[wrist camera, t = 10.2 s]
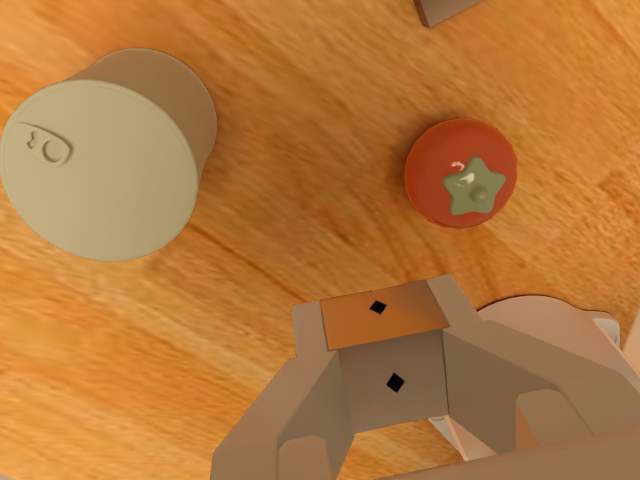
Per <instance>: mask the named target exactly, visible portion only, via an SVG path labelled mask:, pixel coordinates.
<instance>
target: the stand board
mask: <svg viewBox="0 0 640 480" xmlns="http://www.w3.org/2000/svg"><path fill="white" fill-rule="evenodd" d="M414 1H415V4H416V6H417V9H418V12H419V15H420V17H421V20H422V23H423V25H424V26H426V27H432V26H434V25H436V24H438V23H440V22H442V21H444V20H446V19H448V18H449V17H451V16H453V15H455V14H457V13H459V12H461V11H463V10H465V9H466V8H468V7H470V6H472V5H474V4H476V3H478V2H480V1H482V0H414Z"/></svg>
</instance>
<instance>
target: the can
mask: <svg viewBox="0 0 640 480" xmlns="http://www.w3.org/2000/svg"><path fill="white" fill-rule="evenodd" d="M216 134H217V116H216V111H215V106H214V103H213V100H212V98H211V96H210V93H209V92H208V90H207V88H206V86H205V85H204V83H203V82H202V81H201V79H200V78H199V77H198V76H197V75H196V74H195V72H194V71H193V70H191V69H190V68H189V67H188V66H187V65H185V64H184V63H183V62H181V61H180V60H178V59H176V58H175V57H173V56H171V55H168V54H166V53H163V52H160V51H157V50H152V49H147V48H128V49H122V50H118V51H115V52H112V53H110V54H107V55H105V56H104V57H102V58H100V59H99V60H98V61H96V62H95V63H94V64H93V65H92V66H91V67H90V68H88V69H86V70H84V71H82V72H80V73H78V74H76V75H74V76H72V77H70V78H68V79H66V80H64V81H62V82H58V83H55V84H52V85H49V86H47V87H45V88H42V89H40V90H39V91H37V92H35V93H33V94H32V95H31V96H29V97H28V98H27V99H25V100H24V101H23V102H22V103H21V104H20V105H19V106H18V107H17V108H16V109H15V111H14V112H13V113H12V115H11V116H10V118H9V120H8V121H7V123H6V125H5V128H4V130H3V133H2V136H1V140H0V176H1V180H2V184H3V187H4V189H5V192H6V194H7V197H8V199H9V200H10V202H11V204H12V206H13V207H14V209H15V210H16V212H17V213H18V214H19V216H20V217H21V218H22V219H23V221H24V222H25V223H26V224H27V225H28V226H29V227H30V228H31V229H32V230H33V231H34V232H35V233H37V234H38V235H39V236H40V237H42V238H43V239H45V240H46V241H48V242H49V243H51V244H52V245H54V246H56V247H58V248H60V249H62V250H64V251H66V252H68V253H71V254H74V255H77V256H80V257H83V258H88V259H92V260H99V261H125V260H131V259H136V258H140V257H143V256H146V255H148V254H151V253H153V252H155V251H157V250H159V249H161V248H162V247H164V246H165V245H167V244H168V243H169V242H171V241H172V240H173V239H174V238H175V237H176V236H177V235H178V234H179V233H180V232H181V231H182V229H183V228H184V227H185V225H186V224H187V222H188V220H189V219H190V217H191V214H192V212H193V210H194V207H195V203H196V200H197V194H198V186H199V182H200V179H201V176H202V172H203V169H204V166H205V162H206V160H207V159H208V157H209V155H210V153H211V151H212V149H213V146H214V143H215V140H216Z"/></svg>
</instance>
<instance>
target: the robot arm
mask: <svg viewBox="0 0 640 480" xmlns="http://www.w3.org/2000/svg"><path fill="white" fill-rule="evenodd" d="M320 303H321V305H320ZM321 309H322V310H321ZM292 316H293V328H294V340H295V353H296V358H293V359H289V360H288V361H287V362H286V363H285V364H284V365H283V367H282V368H281V369H280V370H279V372H278V373H277V374H276V375H275V377H274V378H273V379H272V380H271V382H270V383H269V384H268V385H267V387H266V388H265V389H264V390H263V392H262V393H261V394H260V395H259V396H258V398H257V399H256V400H255V401H254V403H253V404H252V405H251V406H250V408H249V409H248V410H247V411H246V413H245V414H244V415H243V416H242V418H241V419H240V420H239V421H238V423H237V424H236V425H235V426H234V428H233V429H232V430H231V431H230V432H229V434H228V435H227V436H226V437H225V439H224V440H223V441H222V442H221V444H220V445H219V446H218V447H217V449H216V450H215V451H214V452H213V458H212V466H211V475H210V480H336V478H337V476H338V473H339V471H340V469H341V467H342V464H343V462H344V460H345V457H346V455H347V453H348V450H349V448H350V446H351V443H352V441H353V439H354V434H355V433H360V432H364V431H368V430H373V429H377V428H381V427H386V426H390V425H395V424H399V423H404V422H410V421H416V420H422V419H428V420H429V421H430V423H431V424H432V425H433V426H434V427H435V428H436V429H437V430H438V431H439V432H440V433H441V434H442V435H443V436H444V437H445V438H446V439H447V440H448V441H449V442H450V443H451V444H452V446H453V447H454V448H455V449H456V450H457V451H458V452H459V453H460V454H461V455H462V457H463V459H464V462H459V463H454V464H449V465H444V466H439V467H434V468H429V469H424V470H419V471H414V472H409V473H404V474H399V475H394V476H389V477H384V478H379V479H374V480H640V373H639V371H638V370H637V369H636V368H635V367H634V366H633V364H632V363H631V362H630V361H629V359H628V358H627V357H626V356H625V355H624V353H623V352H622V351H621V350H620V325H619V323H618V322H617V320H616V319H615V318H614V316H613V315H612V314H610V313H606V312H600V311H583V310H580V309H578V308H575V307H573V306H572V305H570V304H568V303H566V302H564V301H561V300H558V299H555V298H551V297H546V296H520V297H514V298H510V299H506V300H503V301H500V302H497V303H494V304H492V305H490V306H487V307H485V308H483V309H482V310H480V311H478V312H477V311H476V310H475V308H474V307H473V305H472V304H471V302H470V301H469V299H468V298H467V296H466V295H465V293H464V292H463V290H462V289H461V287H460V285H459V284H458V282H457V281H456V279H455V278H454V276H453V275H451V274H445V275H441V276H436V277H432V278H428V279H424V280H420V281H415V282H411V283H406V284H402V285H397V286H393V287H389V288H384V289H380V290H375V291H372V290H371V291H366V292H360V293H354V294H349V295H343V296H337V297H332V298H326V299H321V300H320V301H319V300H314V301H309V302H304V303H300V304H295V305H293V307H292Z"/></svg>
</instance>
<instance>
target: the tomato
mask: <svg viewBox="0 0 640 480" xmlns="http://www.w3.org/2000/svg"><path fill="white" fill-rule="evenodd" d="M516 180H517V158H516V156H515V153H514V150H513V148H512V145H511V144H510V143H509V141H508V140H507V139H506V138H505V137H504V136H503V135H502V133H501V132H500V131H499V130H498V129H497V128H495V127H493V126H491V125H489V124H487V123H485V122H483V121H479V120H474V119H465V118H457V119H452V120H447V121H443V122H440V123H438V124H437V125H435V126H433V127H431V128H429V129H427V130H426V131H425V132H424V133H423V134H422V135H421V136H420V137H419V138H418V139H417V140H416V141H415V143H414V144H413V146H412V148H411V150H410V152H409V153H408V156H407V159H406V164H405V169H404V181H405V189H406V193H407V196H408V198H409V200H410V202H411V204H412V206H413V208H414V209H416V210H417V211H418V212H419V213H420V214H421V215H422V216H423V217H424V218H425V219H426V220H428V221H429V222H431V223H433V224H436V225H438V226H441V227H443V228H454V229H463V228H468V227H472V226H477V225H479V224H481V223H483V222H485V221H487V220H489V219H491V218H492V217H493V216H494V215H496V214H497V213H498V212H499V211H500V210H501V209H502V208H503V207H504V206H505V204H506V203H507V201H508V200H509V198H510V197H511V195H512V193H513V190H514V186H515V183H516Z"/></svg>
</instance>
